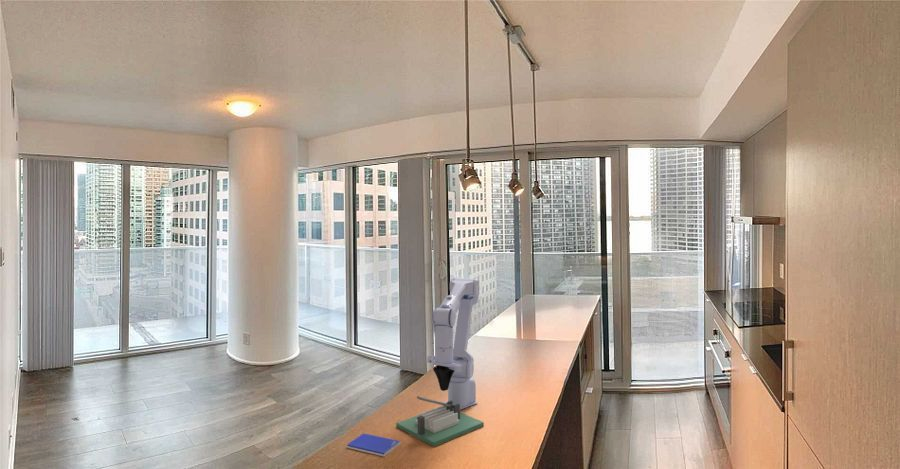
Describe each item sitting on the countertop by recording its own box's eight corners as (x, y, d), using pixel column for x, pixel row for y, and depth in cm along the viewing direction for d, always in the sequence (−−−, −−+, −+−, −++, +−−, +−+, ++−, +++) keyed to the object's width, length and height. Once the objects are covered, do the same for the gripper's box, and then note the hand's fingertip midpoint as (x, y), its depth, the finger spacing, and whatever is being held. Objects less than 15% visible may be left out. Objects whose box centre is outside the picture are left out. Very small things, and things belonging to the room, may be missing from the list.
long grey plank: (451, 407, 151) (452, 404, 151) (455, 408, 150) (456, 405, 150) (416, 398, 142) (417, 395, 142) (420, 400, 140) (421, 397, 141)
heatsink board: (445, 409, 160) (445, 391, 160) (483, 426, 147) (483, 406, 147) (396, 426, 147) (396, 407, 147) (433, 446, 133) (433, 425, 133)
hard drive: (400, 440, 135) (364, 432, 141) (384, 452, 128) (346, 444, 133) (400, 445, 136) (364, 437, 141) (384, 458, 128) (347, 449, 133)
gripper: (419, 344, 152) (420, 386, 152) (449, 353, 141) (449, 399, 141) (436, 340, 156) (437, 381, 157) (467, 349, 145) (467, 393, 146)
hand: (444, 389), depth 149 cm, fingers closed
